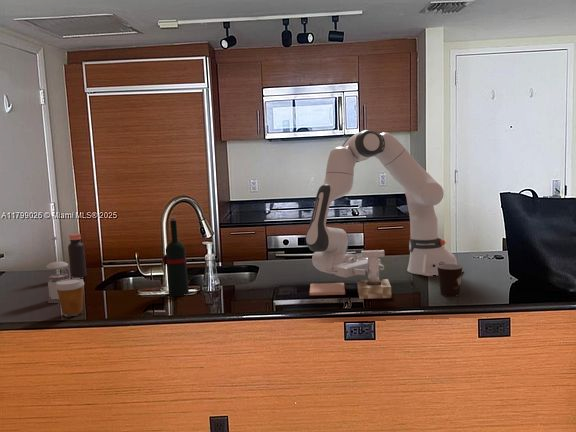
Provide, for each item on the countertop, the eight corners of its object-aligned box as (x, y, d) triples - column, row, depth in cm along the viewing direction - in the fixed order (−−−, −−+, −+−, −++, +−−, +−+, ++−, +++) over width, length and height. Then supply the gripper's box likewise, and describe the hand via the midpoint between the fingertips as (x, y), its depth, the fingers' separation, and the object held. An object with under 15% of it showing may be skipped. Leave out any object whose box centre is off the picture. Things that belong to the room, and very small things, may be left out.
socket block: (387, 289, 202) (387, 279, 201) (391, 297, 191) (391, 286, 190) (357, 290, 203) (357, 280, 202) (359, 298, 191) (359, 287, 191)
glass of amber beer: (91, 310, 193) (88, 277, 192) (80, 318, 184) (77, 284, 182) (65, 311, 194) (62, 278, 192) (53, 319, 184) (49, 285, 183)
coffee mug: (448, 298, 186) (447, 270, 185) (432, 293, 194) (432, 265, 193) (474, 293, 191) (474, 266, 189) (458, 288, 199) (458, 261, 197)
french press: (41, 304, 205) (34, 239, 201) (58, 295, 216) (52, 234, 213) (65, 303, 203) (58, 238, 200) (81, 295, 215) (75, 233, 211)
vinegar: (76, 280, 241) (72, 236, 239) (68, 278, 245) (63, 235, 243) (90, 276, 247) (85, 233, 244) (81, 275, 251) (77, 232, 248)
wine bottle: (165, 291, 214) (159, 216, 210) (190, 290, 214) (185, 215, 210) (160, 297, 206) (154, 219, 203) (186, 295, 206) (181, 218, 202)
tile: (343, 285, 211) (343, 282, 211) (345, 294, 198) (345, 291, 198) (310, 286, 212) (310, 283, 212) (309, 295, 199) (309, 292, 199)
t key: (384, 292, 198) (383, 249, 196) (385, 295, 194) (384, 251, 192) (362, 292, 199) (361, 250, 197) (363, 295, 195) (362, 252, 193)
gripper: (326, 261, 198) (354, 266, 188) (363, 252, 212) (391, 256, 201) (327, 278, 199) (355, 284, 189) (364, 268, 212) (392, 273, 202)
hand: (374, 270), depth 195 cm, fingers open, 8 cm apart
